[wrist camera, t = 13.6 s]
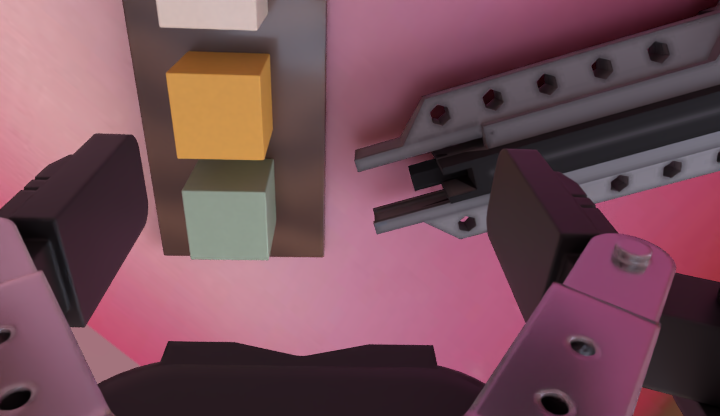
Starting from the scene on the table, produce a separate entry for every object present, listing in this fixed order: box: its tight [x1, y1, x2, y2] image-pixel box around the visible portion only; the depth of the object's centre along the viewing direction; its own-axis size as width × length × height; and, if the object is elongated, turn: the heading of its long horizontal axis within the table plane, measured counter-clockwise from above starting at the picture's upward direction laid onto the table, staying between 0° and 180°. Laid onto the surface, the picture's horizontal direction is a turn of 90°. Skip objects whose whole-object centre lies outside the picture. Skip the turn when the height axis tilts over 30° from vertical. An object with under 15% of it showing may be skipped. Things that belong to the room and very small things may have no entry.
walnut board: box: [122, 0, 327, 257], centre depth 30 cm, size 30×11×1 cm, turn 178°
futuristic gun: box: [354, 0, 720, 239], centre depth 29 cm, size 7×34×15 cm
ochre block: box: [166, 51, 273, 160], centre depth 29 cm, size 5×5×5 cm
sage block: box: [182, 159, 276, 260], centre depth 33 cm, size 5×5×5 cm
